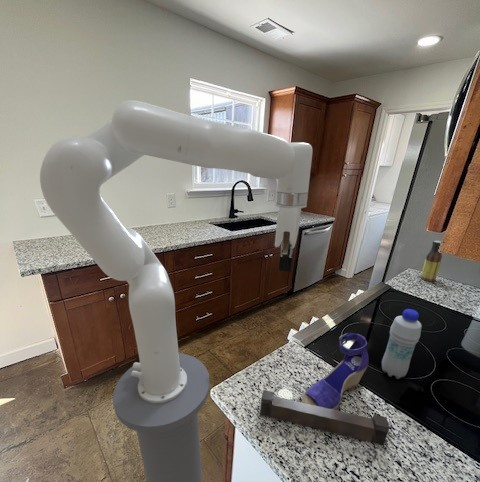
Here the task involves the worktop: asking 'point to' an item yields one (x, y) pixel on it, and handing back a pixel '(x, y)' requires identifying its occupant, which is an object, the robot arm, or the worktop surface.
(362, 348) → the sandal
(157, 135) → the robot arm
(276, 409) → the rail
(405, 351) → the bottle
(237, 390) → the worktop surface
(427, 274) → the sauce bottle
